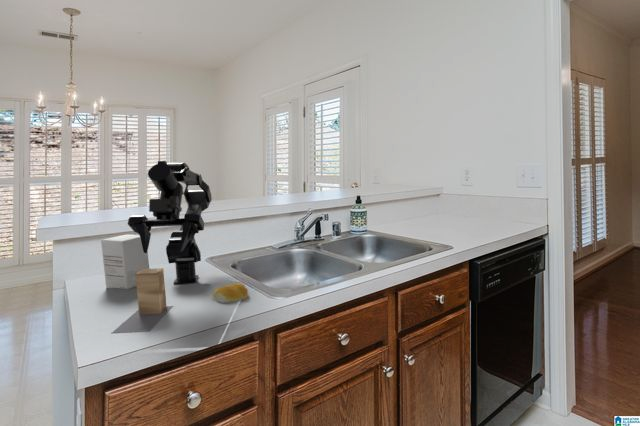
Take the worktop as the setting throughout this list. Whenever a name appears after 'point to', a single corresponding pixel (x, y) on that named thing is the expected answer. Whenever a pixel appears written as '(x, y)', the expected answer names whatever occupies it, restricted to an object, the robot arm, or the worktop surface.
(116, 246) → the supplement box
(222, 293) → the bread roll
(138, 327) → the mat
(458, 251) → the worktop surface
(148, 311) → the oak block
